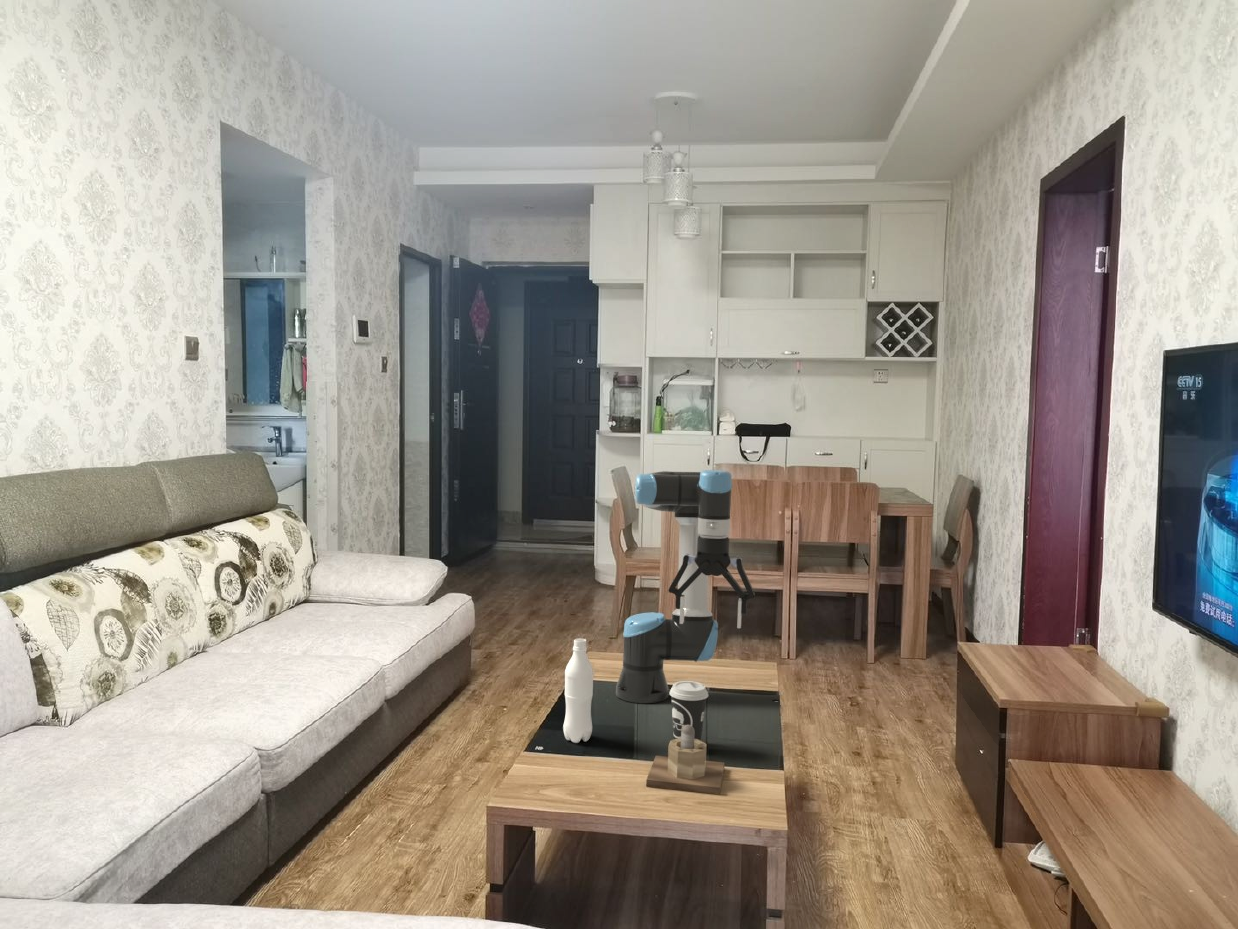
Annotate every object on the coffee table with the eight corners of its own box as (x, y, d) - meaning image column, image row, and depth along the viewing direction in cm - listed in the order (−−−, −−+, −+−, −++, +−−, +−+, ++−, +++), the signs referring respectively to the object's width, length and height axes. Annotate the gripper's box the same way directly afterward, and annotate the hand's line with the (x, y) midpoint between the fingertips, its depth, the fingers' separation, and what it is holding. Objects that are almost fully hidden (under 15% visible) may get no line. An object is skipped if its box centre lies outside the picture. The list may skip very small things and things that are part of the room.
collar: (670, 762, 206) (671, 736, 206) (706, 765, 205) (707, 740, 204) (666, 776, 198) (667, 750, 198) (703, 780, 197) (704, 753, 196)
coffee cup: (704, 755, 215) (706, 693, 214) (664, 750, 217) (666, 690, 216) (708, 740, 224) (710, 681, 223) (670, 736, 226) (672, 678, 225)
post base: (655, 761, 210) (657, 711, 209) (724, 769, 207) (726, 718, 206) (646, 786, 196) (648, 732, 195) (719, 794, 193) (721, 740, 192)
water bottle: (557, 739, 222) (559, 639, 221) (577, 731, 228) (580, 635, 226) (577, 747, 217) (580, 645, 216) (597, 739, 223) (600, 640, 221)
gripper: (658, 535, 210) (655, 624, 211) (766, 541, 205) (762, 632, 207) (663, 531, 217) (660, 617, 219) (767, 536, 213) (763, 625, 214)
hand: (710, 625), depth 213 cm, fingers open, 13 cm apart
